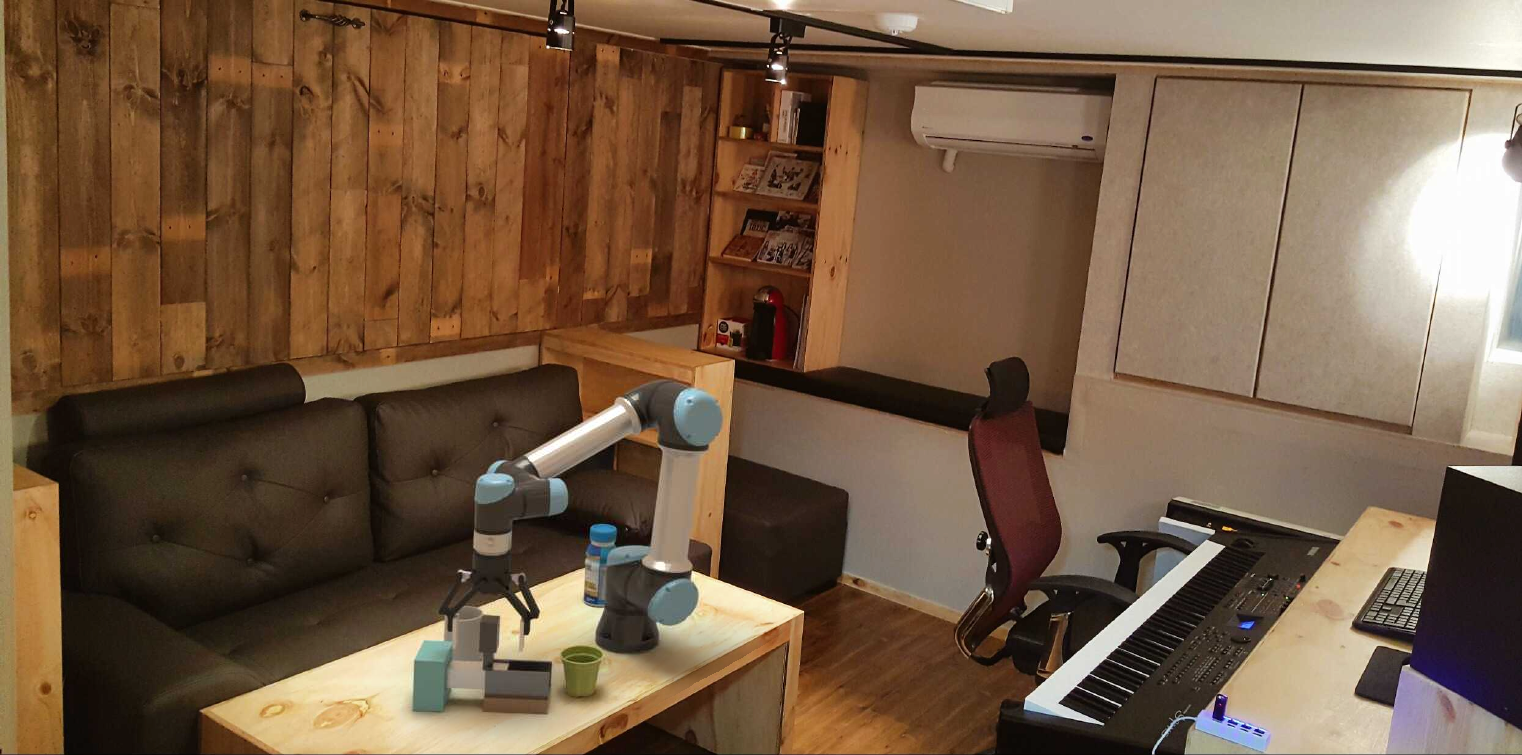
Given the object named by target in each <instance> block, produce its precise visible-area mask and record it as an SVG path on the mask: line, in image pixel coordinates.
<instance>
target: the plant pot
mask: <svg viewBox="0 0 1522 755" xmlns="http://www.w3.org/2000/svg"><path fill="white" fill-rule="evenodd" d="M604 657H605V652H604V651H603V650H602V648H601V649H600V648H598V647H596V646H593V645H585V644H584V645H583V644H578V645H570V646H568V647H566V648H563V649H562V650H561V651H560V652H559V658H560V659H561V663H562V664H563V674H564V681H565V683H564V685H565V691H566V692H565V693H567V694H568V695H570V696H571V697H575V698H578V697H584V698H585V697H586V698H587V697H589V696H592V695H593V694H594V693H595V691H596V685H597V680H598V676H599V671H600V666H601V663H602V661H603V659H604Z"/></svg>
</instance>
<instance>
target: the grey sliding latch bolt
mask: <svg viewBox="0 0 1522 755" xmlns="http://www.w3.org/2000/svg"><path fill="white" fill-rule="evenodd" d="M500 627H501V615H493V614H490V615H483V617H482V619H481V622H480V638H479V652H482V661H480V662H478V661H455V660H449V662H448V664H447V667H446V684H445V688H451V689H463V690H484V691H485V670H486V669H487V670H509V663H500V662H494V659H495V654H497V651H498V649H499V646H500V634H501V633H500V630H501V629H500Z"/></svg>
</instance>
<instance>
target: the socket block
mask: <svg viewBox="0 0 1522 755" xmlns="http://www.w3.org/2000/svg"><path fill="white" fill-rule="evenodd" d="M452 659H453V649H452V642H451V641H444V640H427V639H424V640H423V642H422V643H421V646H420V648H419V649H418V651H417V654H416V655H415V658H414V660H413V681H412V682H413V683H412V685H413V686H412V688H413V689H412V690H413V691H412V711H413V712H429V711H433V712H434V711H443V712H444V710H445V706H446V705H447V702H448V700H447V699H449V698H450V697H449V696H450V695H451V693H452V688H445V684H446V667H447V664H448V662H449V660H452ZM445 704H446V705H445ZM443 709H444V710H443ZM433 712H432V713H433ZM434 713H435V712H434Z"/></svg>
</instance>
